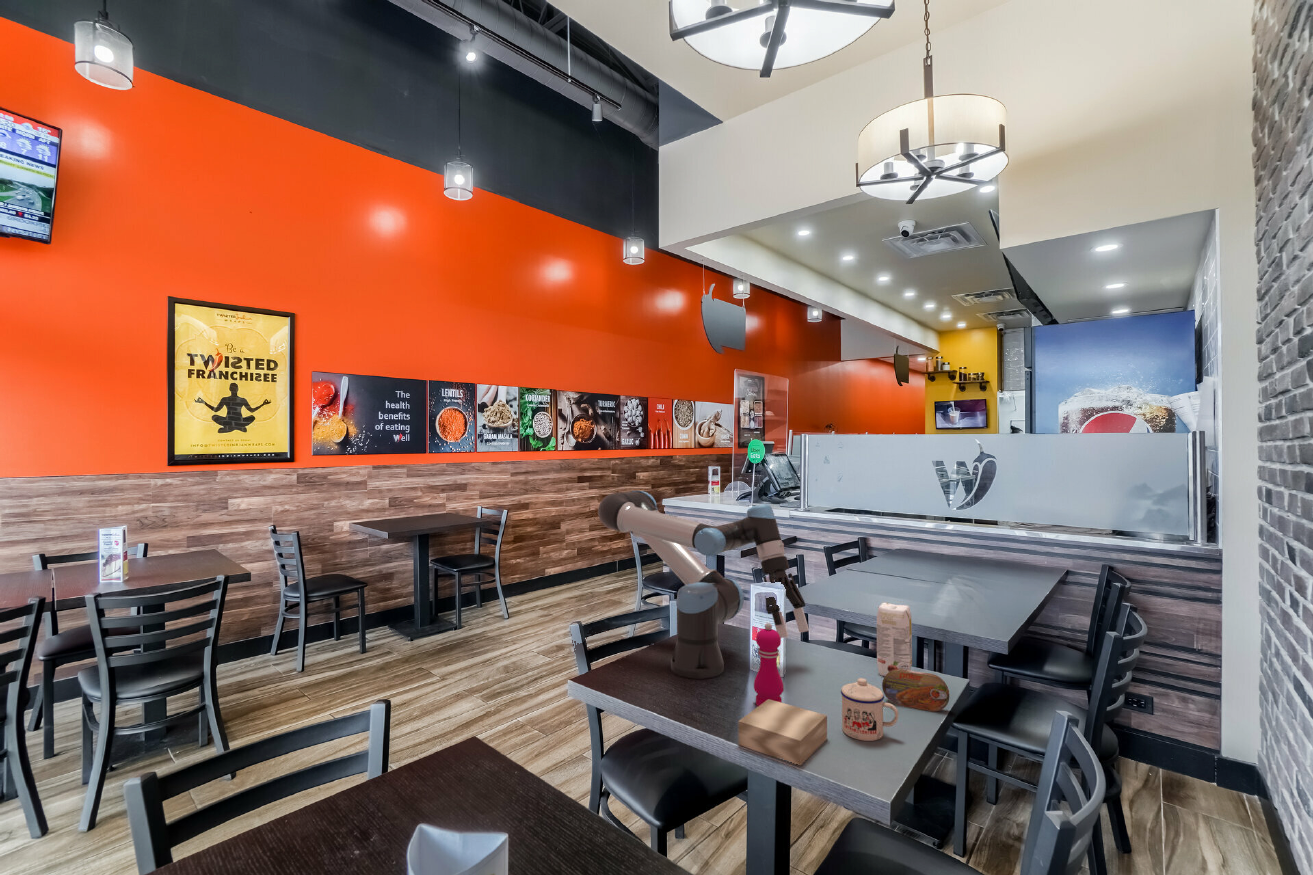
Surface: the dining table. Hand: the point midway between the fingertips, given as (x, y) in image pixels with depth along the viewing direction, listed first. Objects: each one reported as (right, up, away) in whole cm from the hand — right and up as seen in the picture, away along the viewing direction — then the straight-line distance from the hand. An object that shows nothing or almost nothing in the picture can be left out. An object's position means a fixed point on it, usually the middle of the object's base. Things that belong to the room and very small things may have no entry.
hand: (794, 634), depth 164 cm
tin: (+26, -12, -18) cm, 33 cm away
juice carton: (+29, -12, +3) cm, 31 cm away
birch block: (-11, -11, -35) cm, 39 cm away
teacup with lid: (+9, -12, -32) cm, 35 cm away
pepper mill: (-10, -12, -17) cm, 23 cm away
